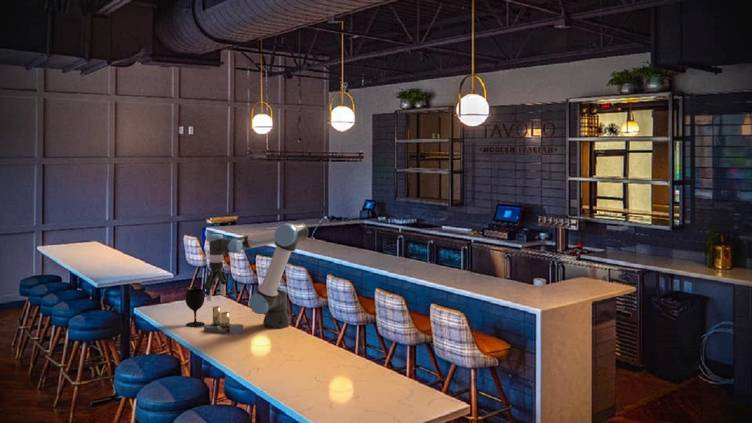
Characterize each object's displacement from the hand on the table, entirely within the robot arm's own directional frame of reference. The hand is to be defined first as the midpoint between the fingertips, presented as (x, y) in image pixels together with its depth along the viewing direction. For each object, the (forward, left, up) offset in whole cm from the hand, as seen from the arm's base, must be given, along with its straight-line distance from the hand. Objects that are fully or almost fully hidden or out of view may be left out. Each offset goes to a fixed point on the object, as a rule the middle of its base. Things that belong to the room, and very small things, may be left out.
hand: (216, 298), depth 362 cm
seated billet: (+9, +12, -15) cm, 21 cm away
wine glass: (+5, -11, -16) cm, 20 cm away
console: (+10, +20, -15) cm, 27 cm away
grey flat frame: (+9, +9, -15) cm, 20 cm away
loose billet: (0, 0, -15) cm, 15 cm away
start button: (+10, +20, -13) cm, 25 cm away
